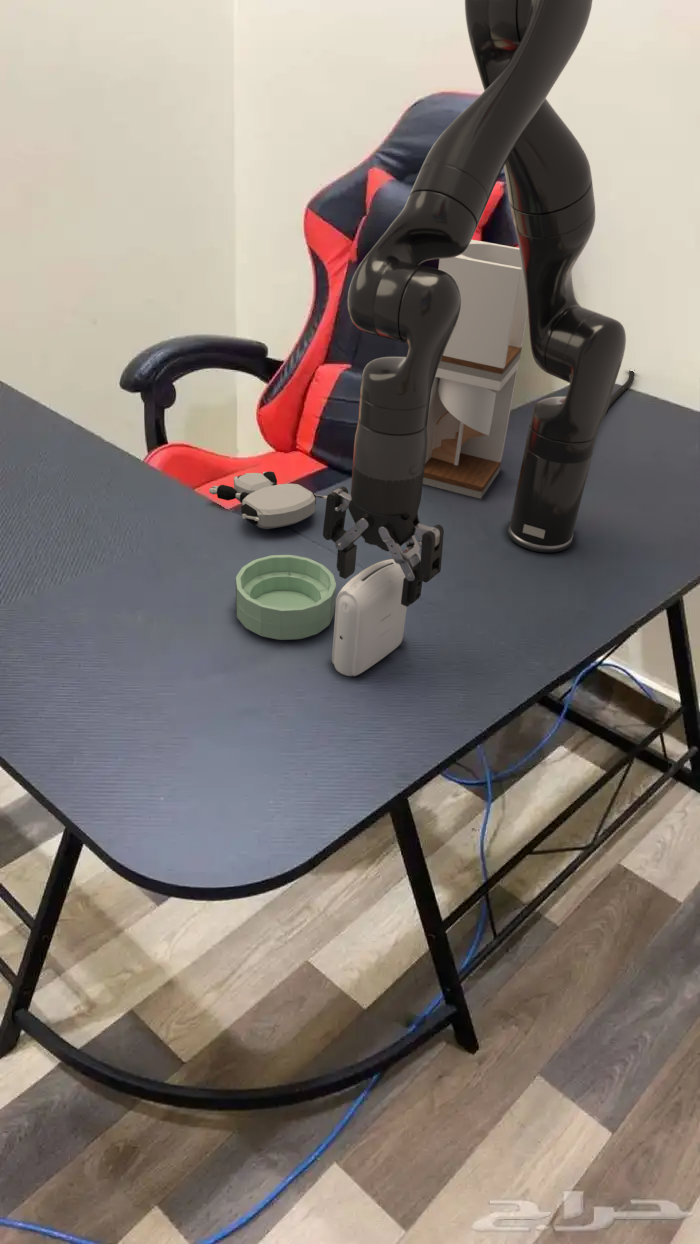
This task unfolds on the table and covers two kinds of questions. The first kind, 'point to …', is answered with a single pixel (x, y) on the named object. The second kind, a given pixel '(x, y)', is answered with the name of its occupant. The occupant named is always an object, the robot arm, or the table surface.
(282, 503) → the robot toy
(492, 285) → the white tower
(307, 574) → the bowl
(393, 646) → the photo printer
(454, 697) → the table surface
